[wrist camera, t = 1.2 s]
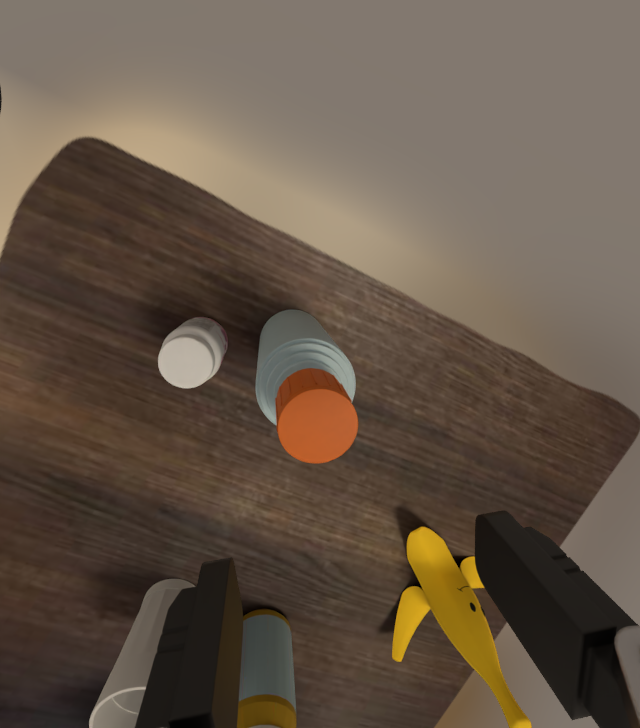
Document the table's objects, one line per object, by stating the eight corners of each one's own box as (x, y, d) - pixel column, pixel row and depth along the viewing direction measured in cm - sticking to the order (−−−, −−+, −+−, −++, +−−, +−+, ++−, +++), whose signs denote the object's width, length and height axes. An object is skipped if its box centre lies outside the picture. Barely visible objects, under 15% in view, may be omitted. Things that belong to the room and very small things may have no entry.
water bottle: (246, 347, 37) (225, 436, 19) (287, 295, 37) (307, 334, 18) (297, 385, 39) (325, 500, 20) (337, 336, 38) (405, 410, 20)
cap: (260, 407, 22) (259, 436, 18) (305, 352, 21) (312, 371, 18) (314, 445, 23) (323, 478, 20) (359, 393, 22) (375, 418, 19)
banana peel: (407, 506, 45) (485, 644, 29) (520, 567, 49) (641, 715, 33) (328, 609, 47) (359, 790, 31) (443, 658, 52) (521, 836, 36)
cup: (198, 564, 43) (173, 676, 32) (216, 618, 45) (199, 740, 34) (126, 583, 42) (74, 703, 31) (148, 636, 45) (107, 767, 33)
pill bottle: (228, 366, 38) (217, 395, 30) (177, 363, 37) (152, 393, 29) (229, 317, 36) (218, 334, 28) (176, 314, 36) (150, 330, 28)
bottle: (220, 626, 46) (198, 794, 31) (269, 595, 45) (270, 750, 31) (254, 660, 48) (248, 832, 33) (301, 630, 47) (316, 792, 33)
